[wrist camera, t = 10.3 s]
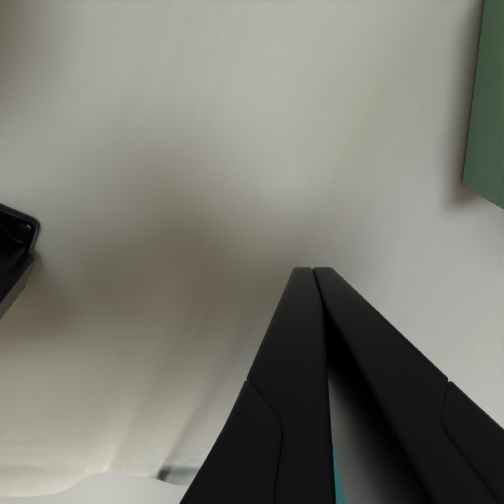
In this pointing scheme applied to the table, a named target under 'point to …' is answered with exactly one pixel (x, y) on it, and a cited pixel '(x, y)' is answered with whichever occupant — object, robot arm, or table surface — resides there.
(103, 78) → the table surface
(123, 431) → the table surface
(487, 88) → the kettle base
